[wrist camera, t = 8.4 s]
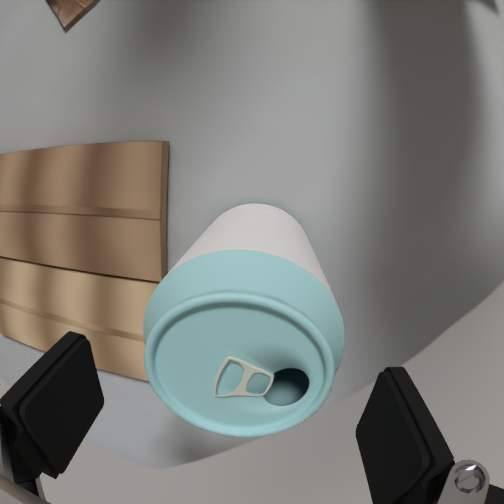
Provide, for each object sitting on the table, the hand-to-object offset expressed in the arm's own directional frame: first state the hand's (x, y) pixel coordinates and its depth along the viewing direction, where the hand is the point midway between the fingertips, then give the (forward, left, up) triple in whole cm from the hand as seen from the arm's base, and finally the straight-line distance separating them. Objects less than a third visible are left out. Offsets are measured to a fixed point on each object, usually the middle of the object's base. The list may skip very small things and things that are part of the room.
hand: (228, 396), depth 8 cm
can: (0, -1, -12) cm, 12 cm away
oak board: (+17, +6, -12) cm, 21 cm away
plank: (+17, -3, -12) cm, 21 cm away
